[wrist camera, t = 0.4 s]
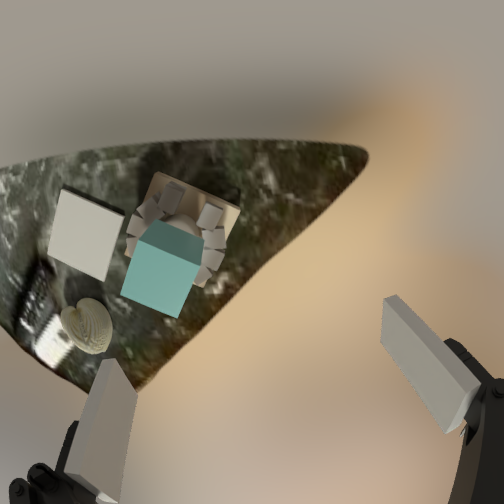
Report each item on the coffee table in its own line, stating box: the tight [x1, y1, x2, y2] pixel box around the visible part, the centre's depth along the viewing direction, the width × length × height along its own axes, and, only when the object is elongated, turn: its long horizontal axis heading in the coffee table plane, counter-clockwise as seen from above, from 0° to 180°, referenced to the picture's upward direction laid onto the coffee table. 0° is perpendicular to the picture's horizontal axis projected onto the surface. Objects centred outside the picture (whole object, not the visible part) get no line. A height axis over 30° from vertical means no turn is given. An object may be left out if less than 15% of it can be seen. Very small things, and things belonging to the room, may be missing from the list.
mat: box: [47, 189, 125, 282], centre depth 35 cm, size 10×10×1 cm
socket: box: [125, 171, 241, 288], centre depth 34 cm, size 11×11×6 cm
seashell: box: [61, 298, 113, 354], centre depth 38 cm, size 8×8×8 cm
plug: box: [120, 214, 205, 318], centre depth 29 cm, size 7×5×13 cm
